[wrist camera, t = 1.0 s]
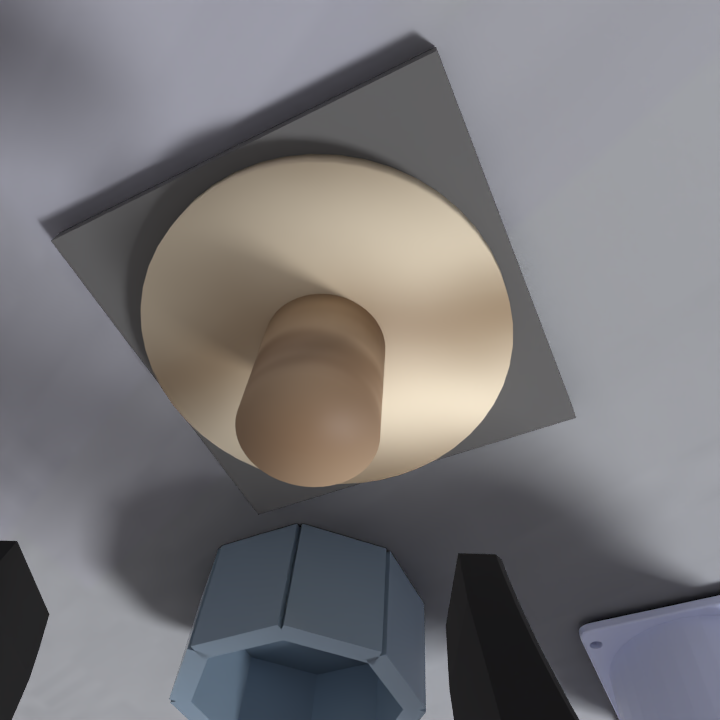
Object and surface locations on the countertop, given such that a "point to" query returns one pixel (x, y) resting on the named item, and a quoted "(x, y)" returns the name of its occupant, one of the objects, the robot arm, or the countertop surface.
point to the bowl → (304, 633)
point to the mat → (354, 139)
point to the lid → (327, 320)
